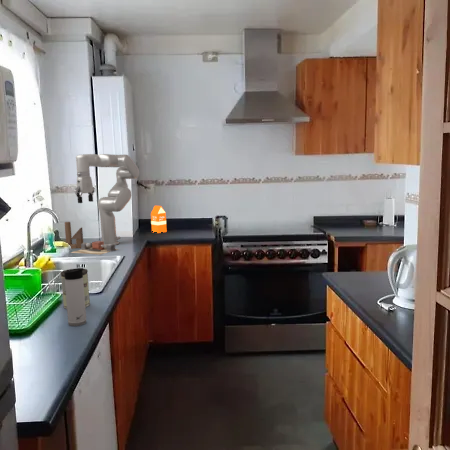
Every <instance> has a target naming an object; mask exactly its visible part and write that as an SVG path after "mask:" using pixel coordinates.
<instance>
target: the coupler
mask: <svg viewBox="0 0 450 450" xmlns="http://www.w3.org/2000/svg"><path fill="white" fill-rule="evenodd" d="M91 243H92V249H98V250H103V249H104V247H103V246H104V241H102V240H97V241H92V242H91Z"/></svg>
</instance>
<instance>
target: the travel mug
mask: <svg viewBox="0 0 450 450" xmlns="http://www.w3.org/2000/svg"><path fill="white" fill-rule="evenodd" d="M70 269H71V270H69V269H66V270H67V271H66V272H64V275H65V290H66V302H67V309H66V311H67V324H68V326H69V327H80V326H83V325H86V323H87V311H86V307H85V296H84V283H83V275H82V274H83V272H82V271H83V269H84V268H83V267H78V268H70Z"/></svg>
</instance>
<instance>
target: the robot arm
mask: <svg viewBox="0 0 450 450" xmlns="http://www.w3.org/2000/svg"><path fill="white" fill-rule="evenodd" d="M75 163H76V175H77V177H76V188H75V189H74V193H75V196H76V197H77V203H78V204H82V203H83V194H88V195H87V198H88V199H87V200H88V202H94V193H95V187H94V185H93V180H92V177H91V172H90V167H97V168H117V169H116V172H115V175H116V182H115V184H114V185H113V187H111V188H110V190H109V191H108V193H107V196H103V197H101V198H99V199H98V201H97V208H98V212H99V219H100V229H101V230H100V233H101V234H100V236H101V241H104V244H115V246H117V245H119V244H120V242H119V241H118V240H121V237H120V236H117V230H116V229H117V227H116V225H117V224H116V216H115V212H116V213H117V212H121V211H122V210H123V209H124V208H125V207H126V206H127V205H128V203H129V202H130V200H131V198H132V191H131V189H130V188H129V185H128V181H127V180H135V179H137V178H139V176H140V170H139V167H138V166H137V164H136V163H135V161H134V160H133V159H132V158H131V156H129V154H109V153H102V154H95V153H89V154H88V153H86V154H85V153H84V154H77V155H76V157H75Z"/></svg>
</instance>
